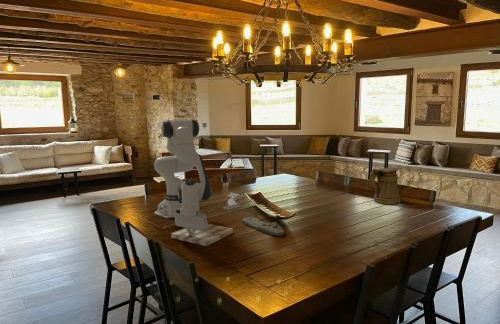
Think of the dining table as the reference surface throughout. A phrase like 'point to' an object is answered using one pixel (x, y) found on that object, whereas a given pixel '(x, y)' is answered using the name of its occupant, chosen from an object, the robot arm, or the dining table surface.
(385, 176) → the tankard
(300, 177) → the dining table surface
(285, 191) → the dining table surface
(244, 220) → the long grey stone
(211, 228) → the oak board
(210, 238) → the birch plank
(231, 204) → the molding
